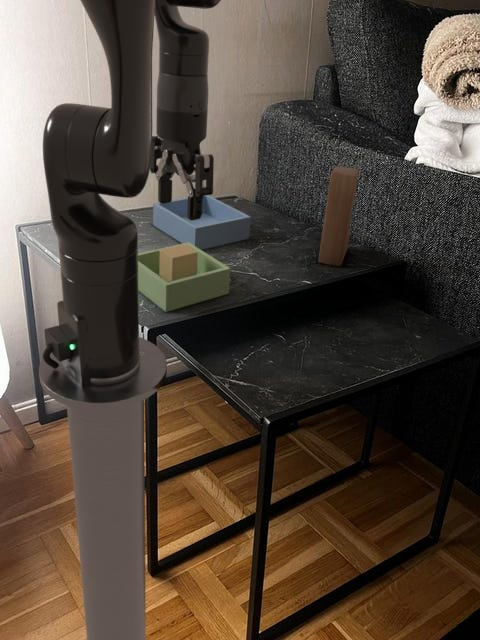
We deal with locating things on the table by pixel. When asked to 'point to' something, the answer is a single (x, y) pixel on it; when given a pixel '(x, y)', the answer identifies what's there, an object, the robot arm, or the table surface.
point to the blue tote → (202, 223)
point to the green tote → (182, 281)
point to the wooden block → (338, 215)
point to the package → (178, 262)
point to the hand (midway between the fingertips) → (179, 210)
